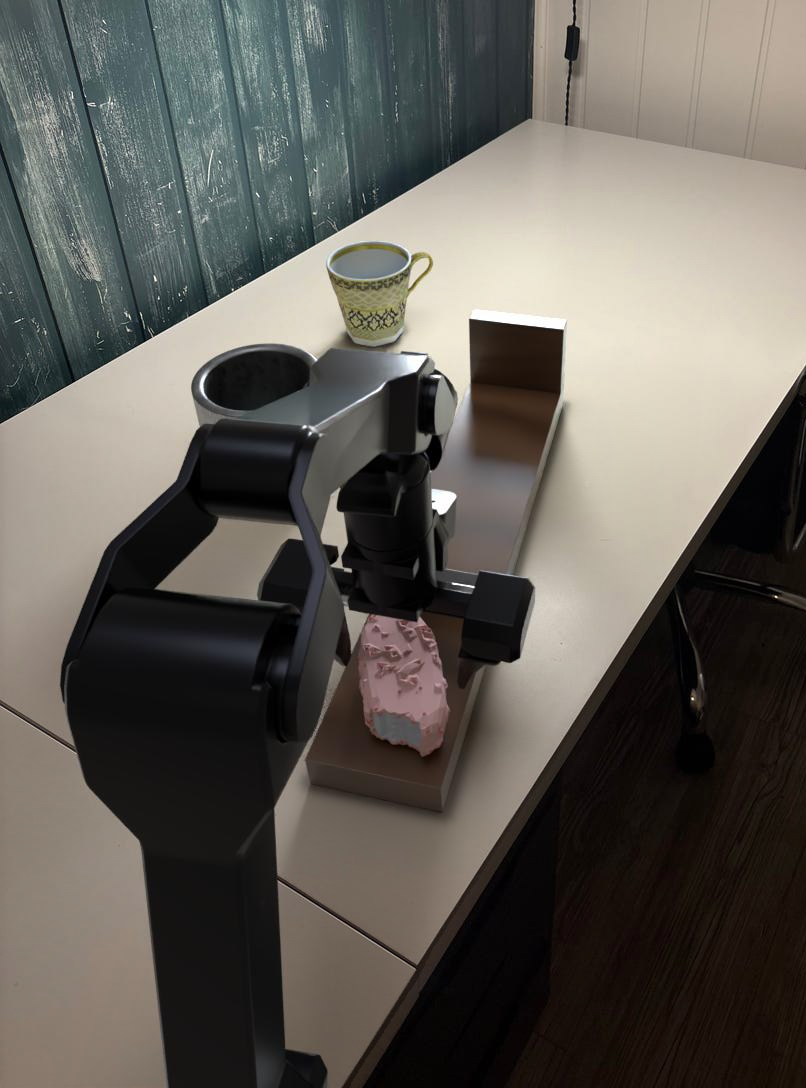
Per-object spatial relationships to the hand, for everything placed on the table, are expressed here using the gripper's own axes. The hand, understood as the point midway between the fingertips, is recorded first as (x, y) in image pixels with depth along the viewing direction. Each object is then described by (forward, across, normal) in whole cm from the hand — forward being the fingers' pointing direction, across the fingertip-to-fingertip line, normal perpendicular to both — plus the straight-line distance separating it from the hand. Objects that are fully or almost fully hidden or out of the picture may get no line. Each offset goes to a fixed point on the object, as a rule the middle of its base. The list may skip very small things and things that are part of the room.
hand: (404, 672), depth 71 cm
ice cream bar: (+1, 0, 0) cm, 1 cm away
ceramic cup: (+4, +19, -53) cm, 56 cm away
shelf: (+4, 0, -17) cm, 18 cm away
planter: (+4, +22, -25) cm, 34 cm away
